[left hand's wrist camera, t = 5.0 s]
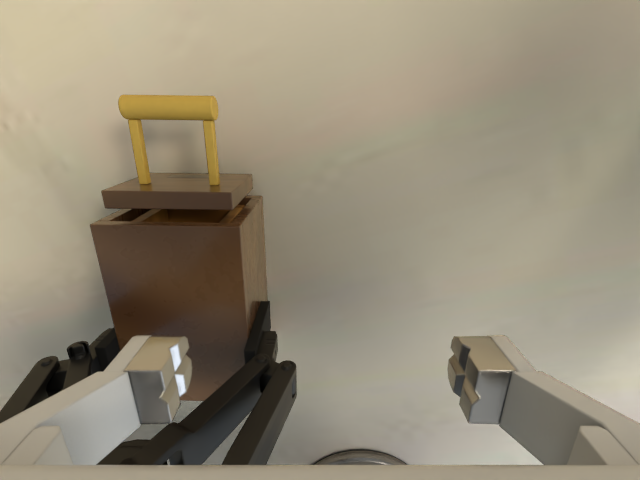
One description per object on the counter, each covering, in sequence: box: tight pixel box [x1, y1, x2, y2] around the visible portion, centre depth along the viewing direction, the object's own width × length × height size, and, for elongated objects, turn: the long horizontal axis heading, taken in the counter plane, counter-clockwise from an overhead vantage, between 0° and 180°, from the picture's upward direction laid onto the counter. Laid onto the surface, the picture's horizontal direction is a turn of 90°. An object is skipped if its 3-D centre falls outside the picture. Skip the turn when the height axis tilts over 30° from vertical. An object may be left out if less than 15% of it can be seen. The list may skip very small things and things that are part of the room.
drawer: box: [101, 95, 253, 223], centre depth 26 cm, size 19×8×7 cm, turn 179°
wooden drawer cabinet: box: [90, 196, 268, 401], centre depth 28 cm, size 14×10×8 cm, turn 179°
